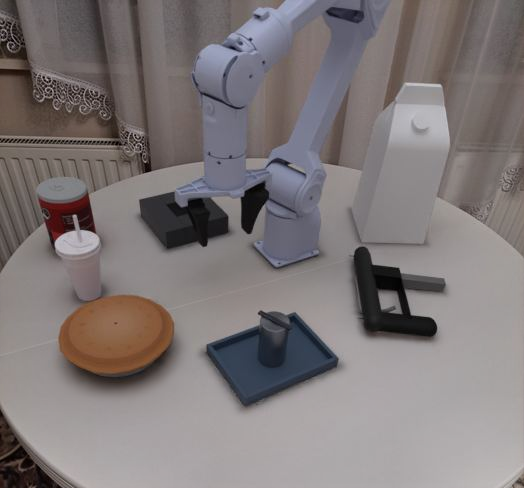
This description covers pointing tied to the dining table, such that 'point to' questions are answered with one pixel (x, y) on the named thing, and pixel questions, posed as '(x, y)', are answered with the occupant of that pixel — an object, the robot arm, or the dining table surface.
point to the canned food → (65, 206)
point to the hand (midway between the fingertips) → (224, 237)
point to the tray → (270, 378)
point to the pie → (116, 335)
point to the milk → (403, 167)
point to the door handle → (393, 279)
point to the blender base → (179, 219)
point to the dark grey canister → (273, 338)
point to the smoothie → (81, 261)
